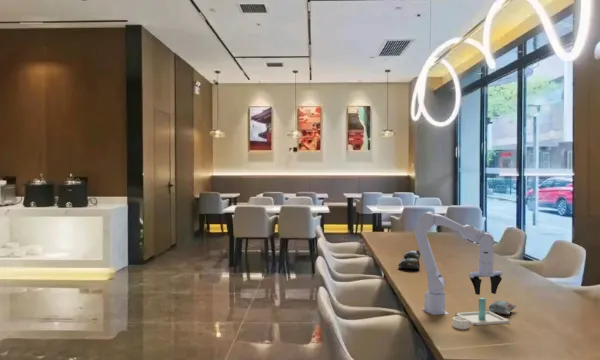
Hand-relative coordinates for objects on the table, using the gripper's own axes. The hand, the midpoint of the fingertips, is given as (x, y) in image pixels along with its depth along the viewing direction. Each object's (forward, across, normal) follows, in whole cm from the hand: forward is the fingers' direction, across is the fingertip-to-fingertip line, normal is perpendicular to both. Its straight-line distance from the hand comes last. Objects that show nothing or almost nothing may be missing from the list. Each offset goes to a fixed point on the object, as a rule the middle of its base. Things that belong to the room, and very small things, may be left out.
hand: (485, 293), depth 209 cm
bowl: (+10, -17, -9) cm, 22 cm away
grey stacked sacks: (+11, +15, +102) cm, 104 cm away
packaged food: (+11, +12, +6) cm, 17 cm away
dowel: (+10, -3, -2) cm, 10 cm away
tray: (+10, -3, -2) cm, 11 cm away
